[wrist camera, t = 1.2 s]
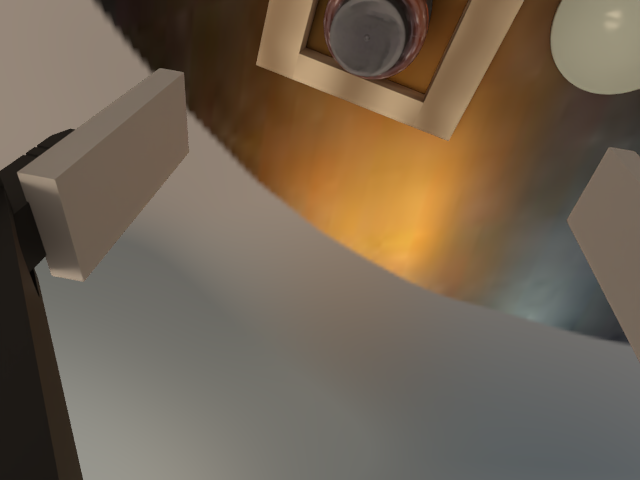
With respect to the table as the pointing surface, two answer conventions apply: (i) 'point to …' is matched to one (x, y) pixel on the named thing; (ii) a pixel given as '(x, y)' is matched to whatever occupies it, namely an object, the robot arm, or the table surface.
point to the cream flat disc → (598, 44)
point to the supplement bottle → (376, 34)
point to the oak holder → (381, 94)
